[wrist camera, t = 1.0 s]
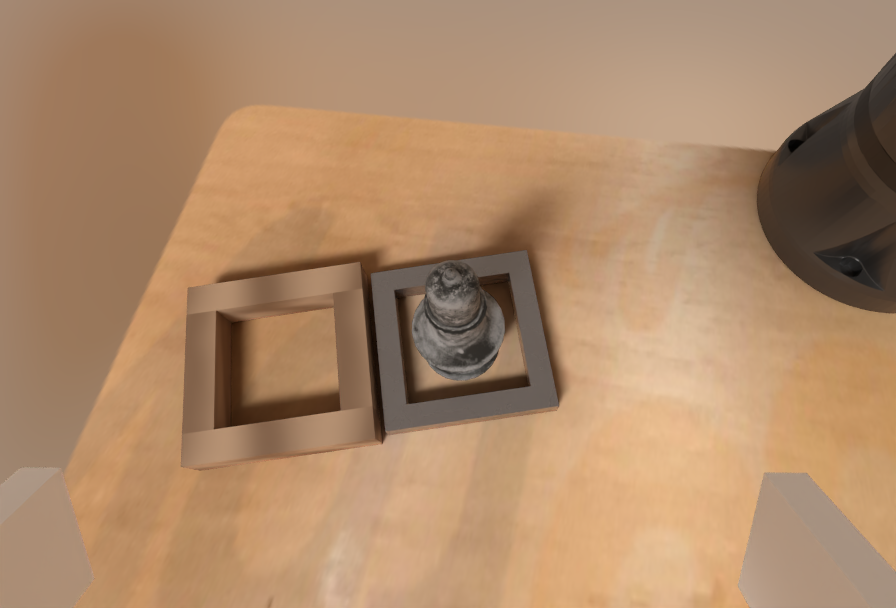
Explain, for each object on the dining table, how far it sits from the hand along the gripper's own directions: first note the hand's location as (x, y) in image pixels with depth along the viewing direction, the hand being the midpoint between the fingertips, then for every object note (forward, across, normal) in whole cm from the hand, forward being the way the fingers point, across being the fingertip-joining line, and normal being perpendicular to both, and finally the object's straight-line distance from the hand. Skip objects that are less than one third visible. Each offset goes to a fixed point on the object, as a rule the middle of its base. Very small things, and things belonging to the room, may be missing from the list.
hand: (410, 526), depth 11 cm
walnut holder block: (+26, -11, -10) cm, 30 cm away
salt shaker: (+27, +1, -9) cm, 28 cm away
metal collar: (+27, +1, -8) cm, 28 cm away
